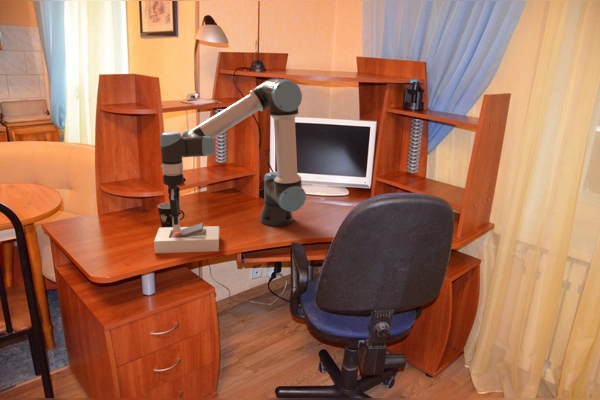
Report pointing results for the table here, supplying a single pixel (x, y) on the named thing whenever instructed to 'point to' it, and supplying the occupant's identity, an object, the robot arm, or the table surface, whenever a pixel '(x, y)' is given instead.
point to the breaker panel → (187, 241)
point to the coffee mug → (166, 215)
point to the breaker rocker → (188, 231)
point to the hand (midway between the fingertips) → (176, 231)
